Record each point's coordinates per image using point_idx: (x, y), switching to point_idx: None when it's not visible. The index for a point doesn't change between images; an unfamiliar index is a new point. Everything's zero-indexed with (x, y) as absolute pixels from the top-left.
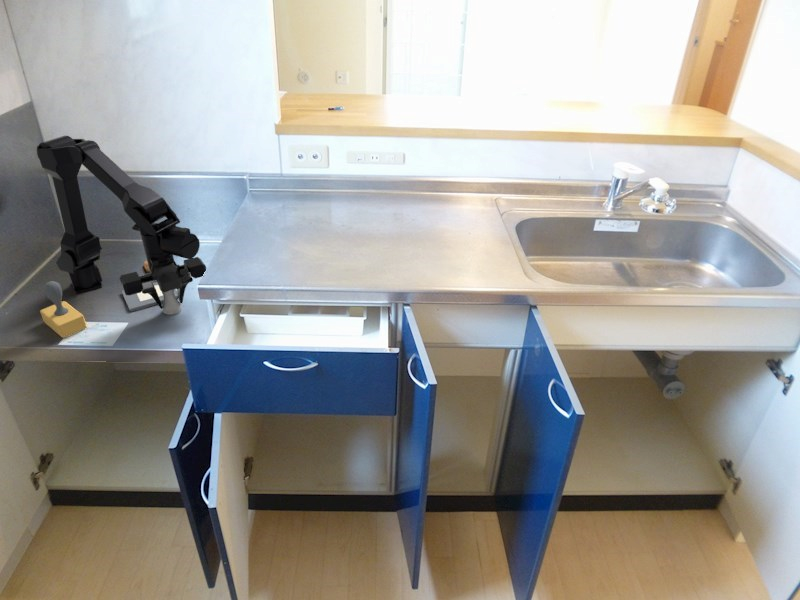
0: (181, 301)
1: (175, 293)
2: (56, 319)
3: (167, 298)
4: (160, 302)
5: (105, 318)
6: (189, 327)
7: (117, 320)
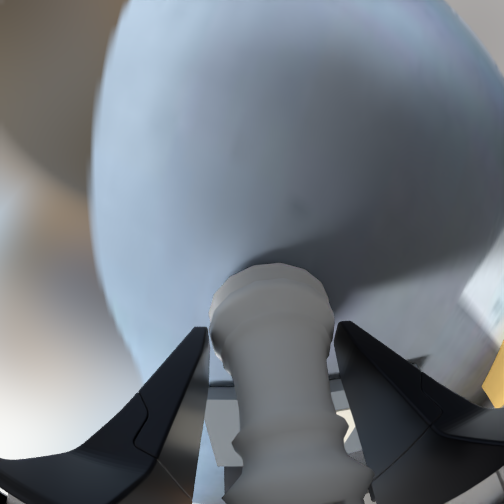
0: (196, 335)
1: (214, 414)
2: None
3: (313, 378)
4: (370, 354)
5: (472, 346)
6: (224, 42)
7: (467, 324)
